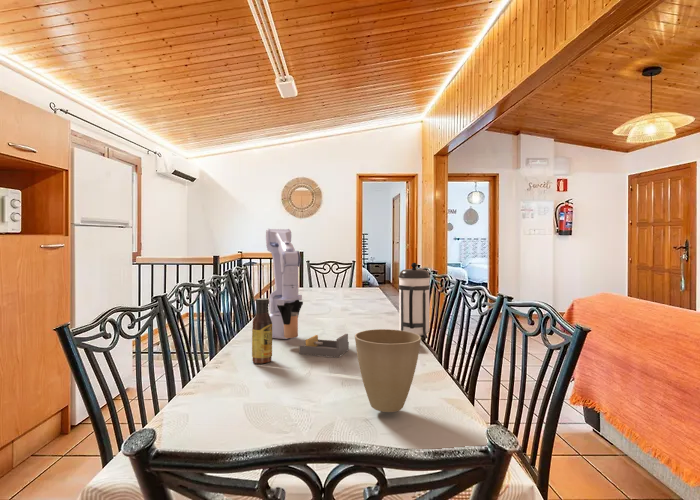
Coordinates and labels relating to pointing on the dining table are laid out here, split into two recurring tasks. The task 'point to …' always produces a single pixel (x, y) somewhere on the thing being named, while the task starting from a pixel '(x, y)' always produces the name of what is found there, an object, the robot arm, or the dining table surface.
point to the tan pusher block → (313, 341)
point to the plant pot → (387, 366)
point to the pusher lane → (327, 347)
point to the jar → (292, 326)
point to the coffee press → (414, 301)
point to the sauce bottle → (262, 333)
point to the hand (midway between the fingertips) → (290, 322)
